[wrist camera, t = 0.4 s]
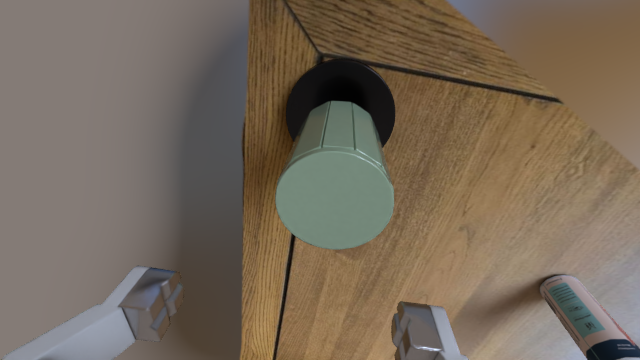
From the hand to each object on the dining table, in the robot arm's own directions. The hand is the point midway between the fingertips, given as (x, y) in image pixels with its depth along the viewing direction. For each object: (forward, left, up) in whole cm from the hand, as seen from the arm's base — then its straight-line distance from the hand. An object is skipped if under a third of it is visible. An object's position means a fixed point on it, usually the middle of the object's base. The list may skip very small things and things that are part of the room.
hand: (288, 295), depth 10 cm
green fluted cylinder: (0, +1, -15) cm, 15 cm away
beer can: (+22, +33, -22) cm, 46 cm away
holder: (0, +1, -22) cm, 22 cm away
